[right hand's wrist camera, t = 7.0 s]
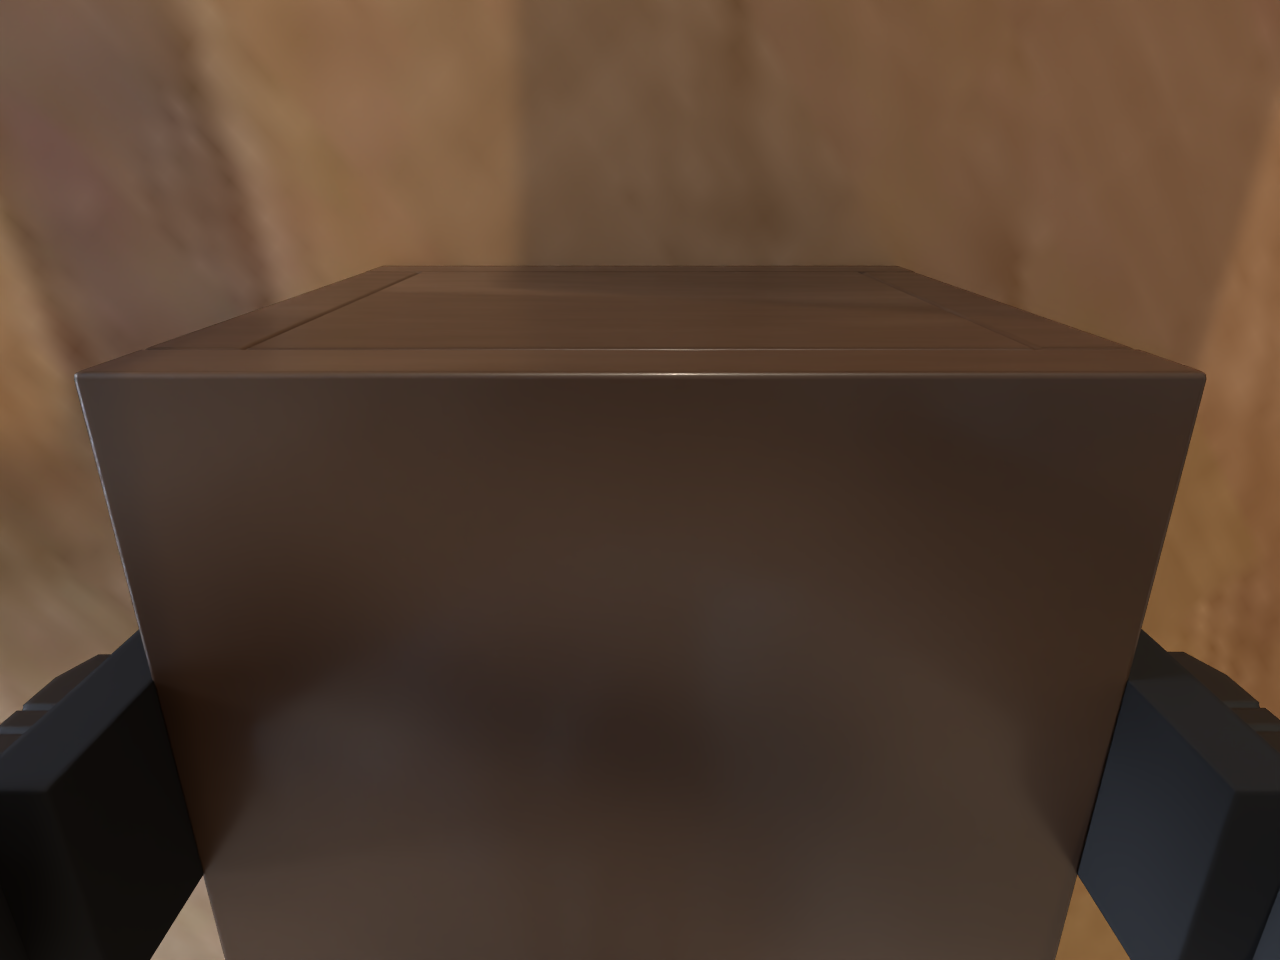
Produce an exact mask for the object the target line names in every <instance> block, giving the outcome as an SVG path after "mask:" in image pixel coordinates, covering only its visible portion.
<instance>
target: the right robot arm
mask: <svg viewBox="0 0 1280 960" xmlns="http://www.w3.org/2000/svg"><path fill="white" fill-rule="evenodd" d="M203 874H204V873H203V869H202V866H201V862H200V858H199V854H198V850H197V846H196V842H195V839H194V835H193V831H192V827H191V823H190V819H189V816H188V812H187V808H186V804H185V800H184V796H183V792H182V789H181V785H180V781H179V777H178V773H177V769H176V766H175V762H174V758H173V754H172V750H171V746H170V742H169V739H168V735H167V731H166V727H165V723H164V719H163V716H162V712H161V708H160V704H159V700H158V696H157V692H156V689H155V685H154V681H153V680H152V677H151V673H150V669H149V665H148V661H147V657H146V653H145V650H144V646H143V642H142V638H141V634H140V630H138V631H137V632H136V633H134V634H133V635H132V636H131V637H130V638H129V639H128V640H127V641H126V642H124V643H123V644H122V645H121V646H120V647H119V648H118V649H117V650H116V651H114V652H113V653H112V654H98V655H97V656H95V657H93V658H91V659H89V660H87V661H85V662H84V663H82V664H80V665H78V666H76V667H74V668H72V669H71V670H69V671H67V672H65V673H63V674H61V675H60V676H58V677H56V678H54V679H53V680H52V681H51V682H50V683H49V684H47V685H46V686H45V687H44V688H43V689H42V690H40V691H39V692H38V693H37V694H36V695H35V696H33V697H32V698H31V699H30V700H29V701H28V702H26V703H25V704H24V705H23V710H22V711H16V712H15V713H14V714H12V715H11V716H10V717H9V718H8V719H7V720H5V721H4V722H3V723H2V724H1V725H0V960H150V959H151V957H152V956H153V954H154V953H155V951H156V949H157V948H158V946H159V945H160V943H161V941H162V940H163V938H164V937H165V935H166V933H167V932H168V930H169V929H170V927H171V925H172V924H173V922H174V921H175V919H176V917H177V916H178V914H179V913H180V911H181V909H182V908H183V906H184V905H185V903H186V901H187V900H188V898H189V897H190V895H191V894H192V892H193V890H194V889H195V887H196V886H197V884H198V882H199V881H200V879H201V878H202V876H203ZM1077 874H1078V876H1079V878H1080V879H1081V881H1082V882H1083V884H1084V886H1085V887H1086V889H1087V890H1088V892H1089V894H1090V895H1091V897H1092V898H1093V900H1094V902H1095V903H1096V905H1097V906H1098V908H1099V910H1100V911H1101V913H1102V914H1103V916H1104V917H1105V919H1106V921H1107V922H1108V924H1109V925H1110V927H1111V929H1112V930H1113V932H1114V933H1115V935H1116V937H1117V938H1118V940H1119V941H1120V943H1121V945H1122V946H1123V948H1124V949H1125V951H1126V953H1127V954H1128V956H1129V957H1130V959H1131V960H1280V720H1279V719H1278V718H1277V717H1276V716H1274V715H1273V714H1272V713H1271V712H1270V711H1268V710H1267V709H1266V708H1260V707H1259V702H1258V701H1257V700H1255V699H1254V698H1253V697H1252V696H1251V695H1250V694H1248V693H1247V692H1246V691H1245V690H1244V689H1243V688H1241V687H1240V686H1239V685H1238V684H1237V683H1235V682H1234V681H1233V680H1232V679H1231V678H1230V677H1228V676H1227V675H1226V674H1224V673H1222V672H1220V671H1218V670H1216V669H1214V668H1213V667H1211V666H1209V665H1207V664H1205V663H1203V662H1201V661H1199V660H1198V659H1196V658H1194V657H1192V656H1190V655H1188V654H1186V653H1185V652H1167V651H1165V650H1164V649H1163V648H1162V647H1161V646H1160V645H1159V644H1158V643H1157V642H1155V641H1154V640H1153V639H1152V638H1151V637H1150V636H1149V635H1148V634H1147V633H1145V632H1144V631H1143V630H1142V629H1141V632H1140V635H1139V639H1138V643H1137V647H1136V651H1135V655H1134V658H1133V662H1132V666H1131V670H1130V674H1129V678H1128V680H1127V683H1126V687H1125V691H1124V695H1123V699H1122V703H1121V706H1120V710H1119V714H1118V718H1117V722H1116V726H1115V730H1114V733H1113V737H1112V741H1111V745H1110V749H1109V753H1108V756H1107V760H1106V764H1105V768H1104V772H1103V776H1102V779H1101V783H1100V787H1099V791H1098V795H1097V799H1096V802H1095V806H1094V810H1093V814H1092V818H1091V822H1090V826H1089V829H1088V833H1087V837H1086V841H1085V845H1084V849H1083V852H1082V856H1081V860H1080V864H1079V868H1078V872H1077Z"/></svg>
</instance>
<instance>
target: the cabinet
mask: <svg viewBox="0 0 1280 960" xmlns="http://www.w3.org/2000/svg"><path fill="white" fill-rule="evenodd" d="M74 381H75V385H76V389H77V392H78V396H79V400H80V404H81V408H82V412H83V415H84V419H85V423H86V427H87V431H88V435H89V438H90V442H91V446H92V450H93V454H94V458H95V461H96V465H97V469H98V473H99V477H100V481H101V485H102V488H103V492H104V496H105V500H106V504H107V508H108V511H109V515H110V519H111V523H112V527H113V531H114V534H115V538H116V542H117V546H118V550H119V554H120V557H121V561H122V565H123V569H124V573H125V577H126V581H127V584H128V588H129V592H130V596H131V600H132V604H133V607H134V611H135V615H136V619H137V623H138V627H139V630H140V634H141V638H142V642H143V646H144V650H145V653H146V657H147V661H148V665H149V669H150V673H151V677H152V680H153V681H154V685H155V689H156V692H157V696H158V700H159V704H160V708H161V712H162V716H163V719H164V723H165V727H166V731H167V735H168V739H169V742H170V746H171V750H172V754H173V758H174V762H175V766H176V769H177V773H178V777H179V781H180V785H181V789H182V792H183V796H184V800H185V804H186V808H187V812H188V816H189V819H190V823H191V827H192V831H193V835H194V839H195V842H196V846H197V850H198V854H199V858H200V862H201V866H202V869H203V873H204V874H203V876H204V880H205V884H206V888H207V892H208V895H209V899H210V903H211V907H212V911H213V915H214V918H215V922H216V926H217V930H218V934H219V938H220V941H221V945H222V949H223V953H224V957H225V960H1055V958H1056V954H1057V950H1058V946H1059V942H1060V938H1061V935H1062V931H1063V927H1064V923H1065V919H1066V915H1067V912H1068V908H1069V904H1070V900H1071V896H1072V892H1073V889H1074V885H1075V881H1076V877H1077V872H1078V868H1079V864H1080V860H1081V856H1082V852H1083V849H1084V845H1085V841H1086V837H1087V833H1088V829H1089V826H1090V822H1091V818H1092V814H1093V810H1094V806H1095V802H1096V799H1097V795H1098V791H1099V787H1100V783H1101V779H1102V776H1103V772H1104V768H1105V764H1106V760H1107V756H1108V753H1109V749H1110V745H1111V741H1112V737H1113V733H1114V730H1115V726H1116V722H1117V718H1118V714H1119V710H1120V706H1121V703H1122V699H1123V695H1124V691H1125V687H1126V683H1127V680H1128V678H1129V674H1130V670H1131V666H1132V662H1133V658H1134V655H1135V651H1136V647H1137V643H1138V639H1139V635H1140V632H1141V628H1142V624H1143V620H1144V616H1145V612H1146V609H1147V605H1148V601H1149V597H1150V593H1151V589H1152V586H1153V582H1154V578H1155V574H1156V570H1157V566H1158V562H1159V559H1160V555H1161V551H1162V547H1163V543H1164V539H1165V536H1166V532H1167V528H1168V524H1169V520H1170V516H1171V513H1172V509H1173V505H1174V501H1175V497H1176V493H1177V490H1178V486H1179V482H1180V478H1181V474H1182V470H1183V467H1184V463H1185V459H1186V455H1187V451H1188V447H1189V444H1190V440H1191V436H1192V432H1193V428H1194V424H1195V421H1196V417H1197V413H1198V409H1199V405H1200V401H1201V398H1202V394H1203V390H1204V386H1205V382H1206V374H1205V373H1203V372H1201V371H1199V370H1196V369H1193V368H1190V367H1187V366H1184V365H1182V364H1179V363H1176V362H1173V361H1170V360H1167V359H1164V358H1161V357H1158V356H1156V355H1153V354H1150V353H1147V352H1144V351H1141V350H1133V349H1132V348H1129V347H1127V346H1124V345H1121V344H1118V343H1116V342H1113V341H1110V340H1107V339H1104V338H1101V337H1098V336H1095V335H1093V334H1090V333H1087V332H1084V331H1081V330H1078V329H1075V328H1072V327H1069V326H1067V325H1064V324H1061V323H1058V322H1055V321H1052V320H1049V319H1046V318H1044V317H1041V316H1038V315H1035V314H1032V313H1029V312H1026V311H1023V310H1021V309H1018V308H1015V307H1012V306H1009V305H1006V304H1003V303H1000V302H998V301H995V300H992V299H989V298H986V297H983V296H980V295H977V294H975V293H972V292H969V291H966V290H963V289H960V288H957V287H954V286H952V285H949V284H946V283H943V282H940V281H937V280H934V279H931V278H929V277H926V276H923V275H920V274H917V273H915V272H913V271H910V270H907V269H904V268H902V267H899V266H381V267H378V268H375V269H373V270H370V271H367V272H365V273H362V274H359V275H356V276H353V277H350V278H347V279H345V280H342V281H339V282H336V283H333V284H330V285H327V286H324V287H322V288H319V289H316V290H313V291H310V292H307V293H304V294H301V295H299V296H296V297H293V298H290V299H287V300H284V301H281V302H278V303H275V304H273V305H270V306H267V307H264V308H261V309H258V310H255V311H252V312H250V313H247V314H244V315H241V316H238V317H235V318H232V319H229V320H227V321H224V322H221V323H218V324H215V325H212V326H209V327H206V328H204V329H201V330H198V331H195V332H192V333H189V334H186V335H183V336H180V337H178V338H175V339H172V340H169V341H166V342H163V343H160V344H157V345H155V346H152V347H149V348H147V349H145V350H139V351H136V352H134V353H131V354H128V355H125V356H122V357H119V358H116V359H113V360H110V361H108V362H105V363H102V364H99V365H96V366H93V367H90V368H87V369H84V370H82V371H79V372H77V373H76V374H75V375H74Z"/></svg>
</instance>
